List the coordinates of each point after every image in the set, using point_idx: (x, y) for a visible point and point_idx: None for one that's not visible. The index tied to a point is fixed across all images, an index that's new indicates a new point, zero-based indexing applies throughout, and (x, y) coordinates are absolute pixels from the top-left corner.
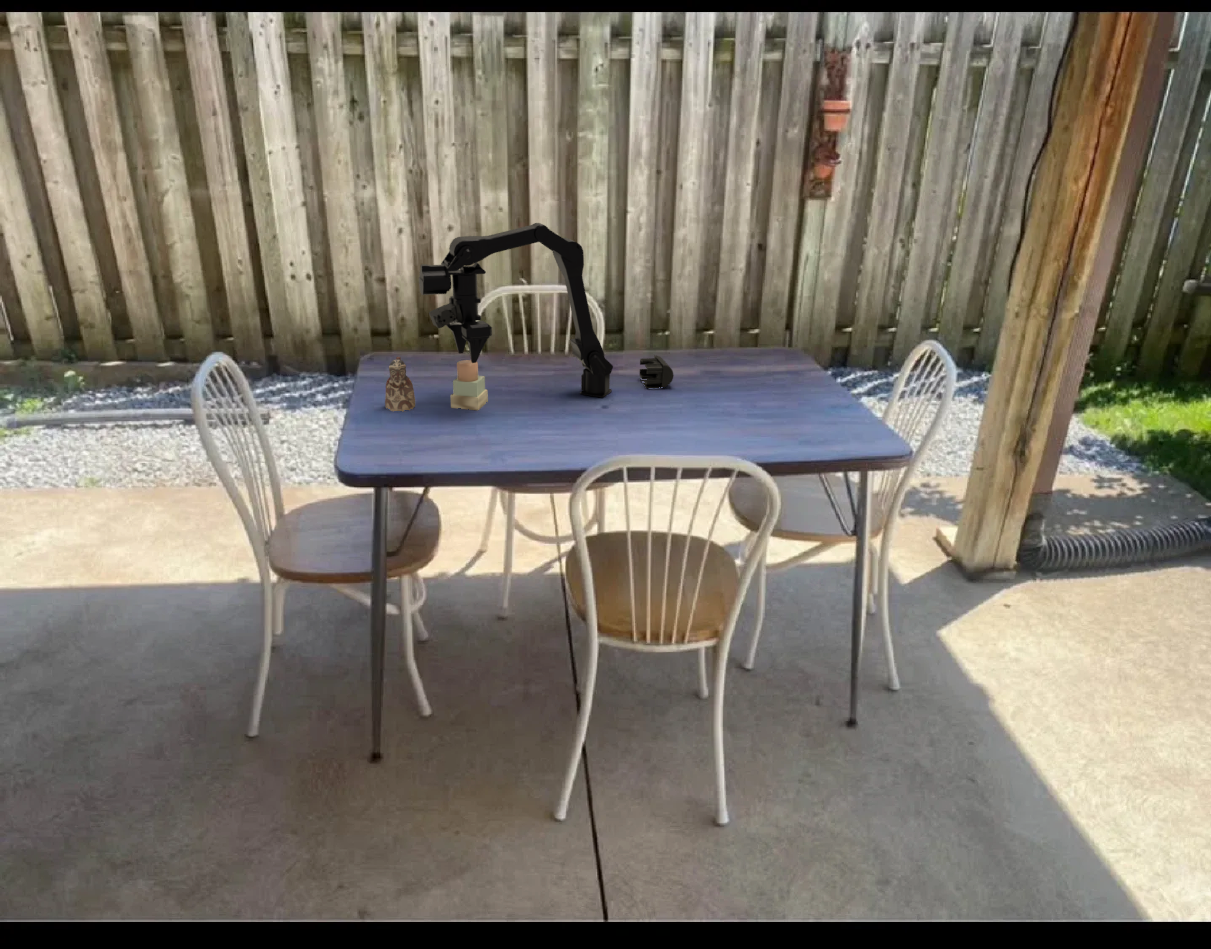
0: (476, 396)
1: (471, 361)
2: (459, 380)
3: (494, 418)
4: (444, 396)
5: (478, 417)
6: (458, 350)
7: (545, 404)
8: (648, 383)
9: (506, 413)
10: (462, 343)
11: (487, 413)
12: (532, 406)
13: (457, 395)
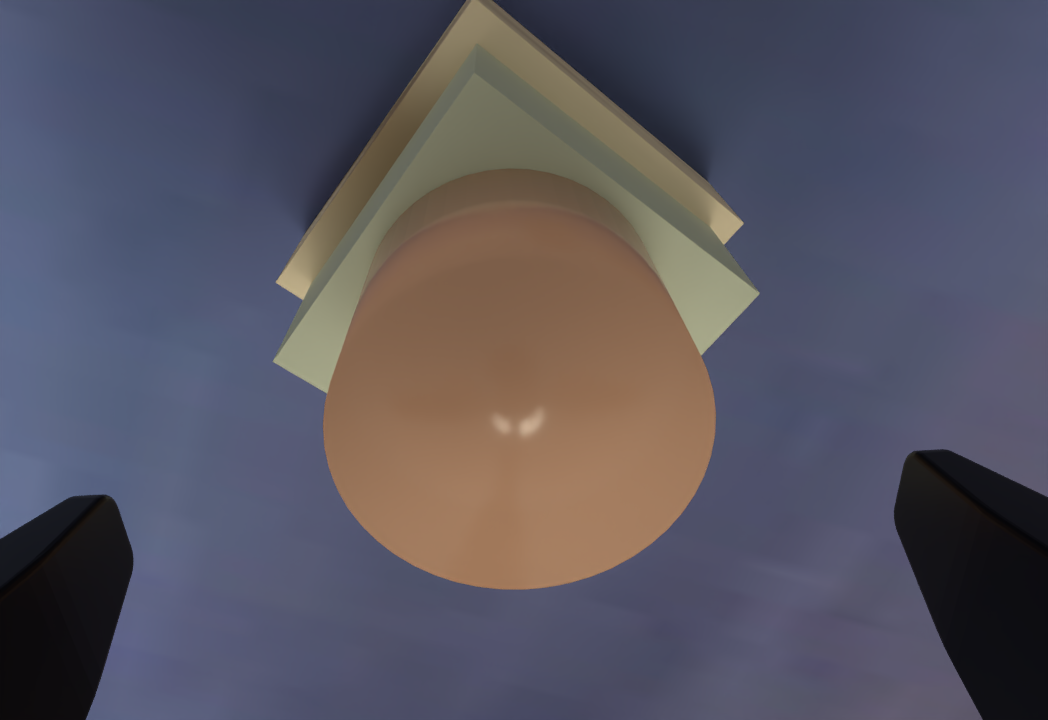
0: (313, 281)
1: (83, 503)
2: (461, 177)
3: (33, 301)
4: (881, 36)
5: (85, 171)
6: (939, 477)
7: (313, 709)
8: None
9: (159, 429)
10: (1016, 681)
11: (192, 285)
12: (291, 632)
13: (441, 86)
